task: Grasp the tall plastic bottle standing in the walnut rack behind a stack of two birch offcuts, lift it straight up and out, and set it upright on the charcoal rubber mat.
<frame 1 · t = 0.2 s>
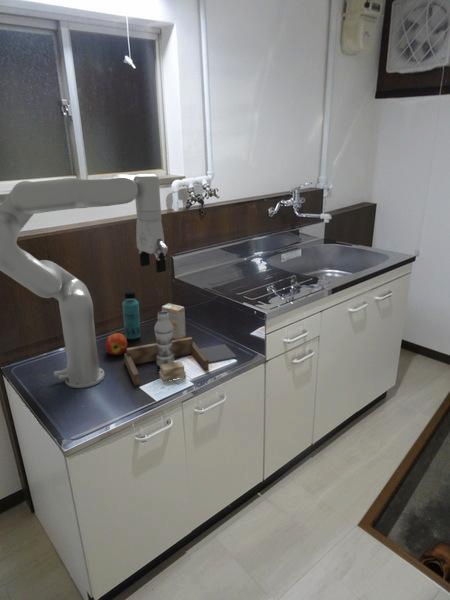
hand: (153, 268, 137), 35 cm above the counter, tool pointing down, fingers open, 9 cm apart
apple: (117, 353, 157), on the counter
beverage bottle: (133, 339, 169), on the counter
plastic bottle: (165, 366, 149), on the counter
mat: (216, 354, 157), on the counter
supplement box: (174, 337, 172), on the counter
rack: (166, 366, 148), on the counter
bottom offcut: (172, 378, 142), on the counter, touching top offcut
top offcut: (172, 372, 141), point 2 cm above the counter, touching bottom offcut
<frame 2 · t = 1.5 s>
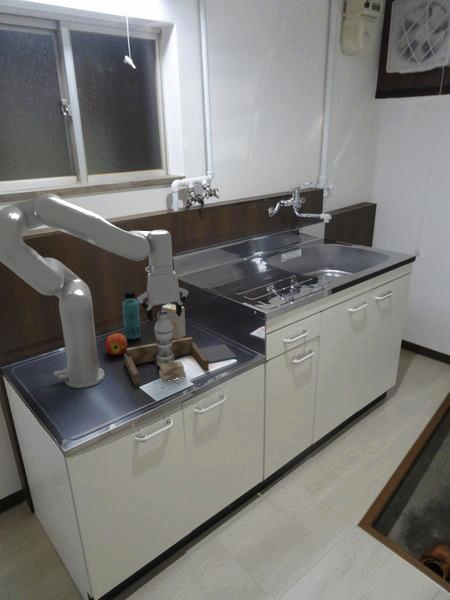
hand: (164, 317, 143), 18 cm above the counter, tool pointing down, fingers open, 9 cm apart
nothing on the counter moved.
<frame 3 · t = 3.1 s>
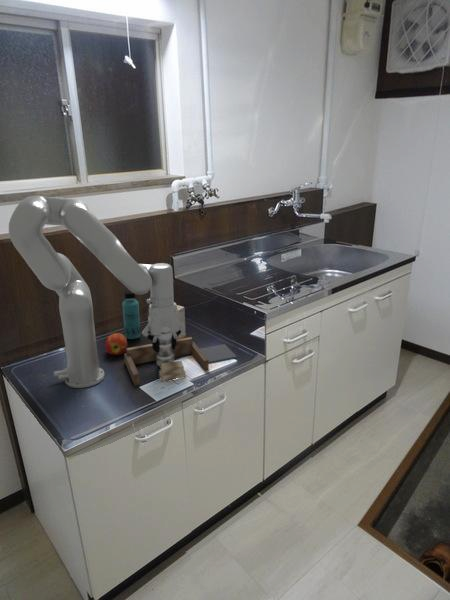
hand: (164, 349, 147), 7 cm above the counter, tool pointing down, fingers closed on plastic bottle, 5 cm apart
plastic bottle: (165, 366, 149), on the counter, touching gripper
everything else where it was.
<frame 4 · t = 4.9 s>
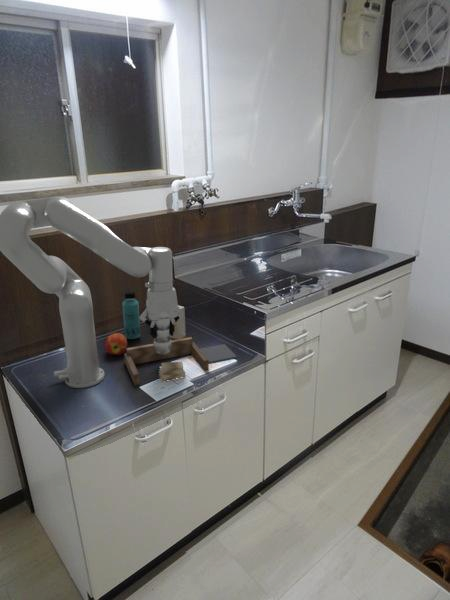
hand: (162, 335, 145), 12 cm above the counter, tool pointing down, fingers closed on plastic bottle, 5 cm apart
plastic bottle: (162, 352, 147), point 5 cm above the counter, touching gripper
everything else where it was.
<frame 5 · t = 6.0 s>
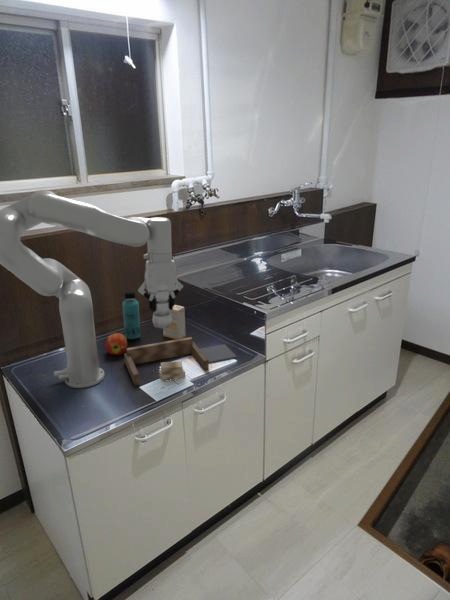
hand: (161, 309, 141), 21 cm above the counter, tool pointing down, fingers closed on plastic bottle, 5 cm apart
plastic bottle: (162, 327, 144), point 15 cm above the counter, touching gripper
everything else where it was.
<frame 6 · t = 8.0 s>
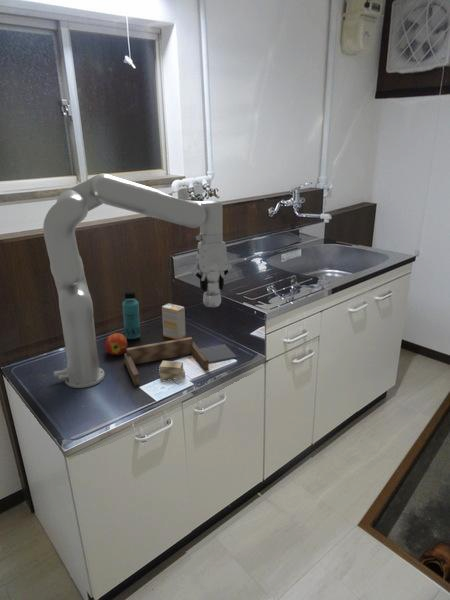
hand: (212, 288, 147), 26 cm above the counter, tool pointing down, fingers closed on plastic bottle, 5 cm apart
plastic bottle: (212, 306, 150), point 19 cm above the counter, touching gripper
bottom offcut: (172, 377, 142), on the counter
top offcut: (171, 370, 141), point 2 cm above the counter
everything else where it was.
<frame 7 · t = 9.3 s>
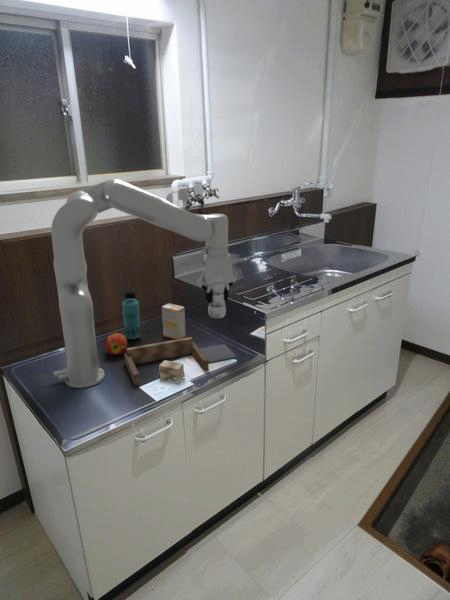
hand: (216, 300, 150), 21 cm above the counter, tool pointing down, fingers closed on plastic bottle, 5 cm apart
plastic bottle: (217, 317, 152), point 15 cm above the counter, touching gripper
bottom offcut: (172, 377, 142), on the counter, touching top offcut
top offcut: (171, 371, 141), point 2 cm above the counter, touching bottom offcut
everything else where it was.
when the fingers open (8 cm above the counter, at t = 11.9 s): plastic bottle drops 1 cm, resting on mat.
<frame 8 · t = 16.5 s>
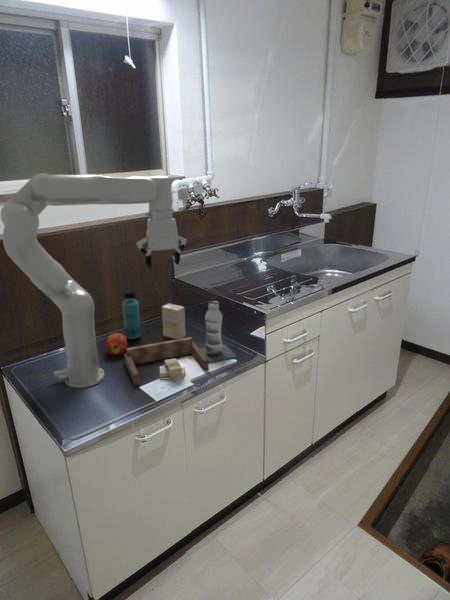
hand: (163, 265, 145), 34 cm above the counter, tool pointing down, fingers open, 9 cm apart
plastic bottle: (213, 353, 156), resting on mat
at the end: plastic bottle inside the target area on the mat (1.2 cm from its centre), point 0.4 cm above the mat's base; plastic bottle tilted 0°; the gripper is holding nothing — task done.
